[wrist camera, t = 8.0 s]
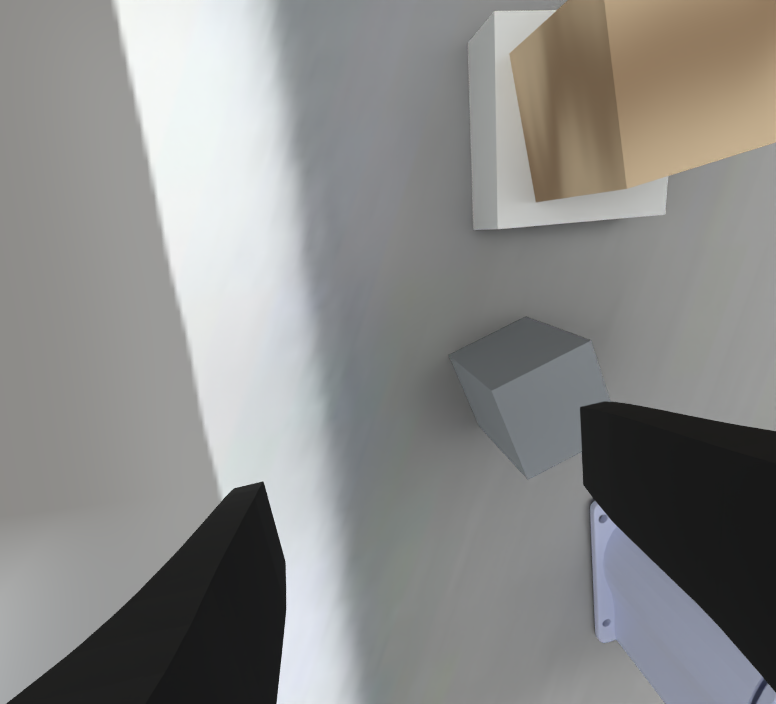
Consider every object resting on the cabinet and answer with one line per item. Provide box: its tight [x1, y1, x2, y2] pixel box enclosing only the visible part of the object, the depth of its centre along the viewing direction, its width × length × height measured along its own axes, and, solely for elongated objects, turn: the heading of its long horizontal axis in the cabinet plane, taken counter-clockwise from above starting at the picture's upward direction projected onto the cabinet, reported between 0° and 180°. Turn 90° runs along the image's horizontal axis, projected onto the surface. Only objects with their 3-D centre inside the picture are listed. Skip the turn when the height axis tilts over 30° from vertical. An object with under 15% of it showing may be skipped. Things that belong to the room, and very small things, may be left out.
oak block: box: [509, 0, 776, 202], centre depth 14 cm, size 5×5×5 cm
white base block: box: [468, 10, 668, 230], centre depth 18 cm, size 7×7×3 cm
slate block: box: [449, 317, 611, 479], centre depth 19 cm, size 4×4×5 cm
